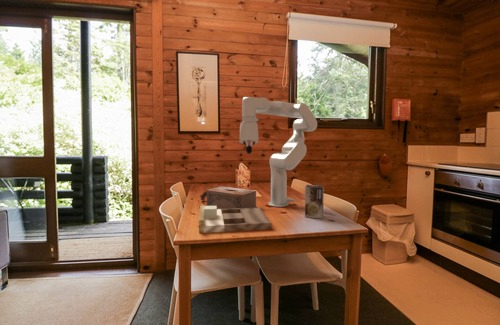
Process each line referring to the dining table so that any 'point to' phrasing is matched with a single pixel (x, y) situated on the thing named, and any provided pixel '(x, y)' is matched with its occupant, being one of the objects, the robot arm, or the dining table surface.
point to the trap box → (234, 220)
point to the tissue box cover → (231, 198)
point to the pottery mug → (203, 195)
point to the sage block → (210, 211)
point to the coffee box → (314, 201)
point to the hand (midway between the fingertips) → (248, 153)
